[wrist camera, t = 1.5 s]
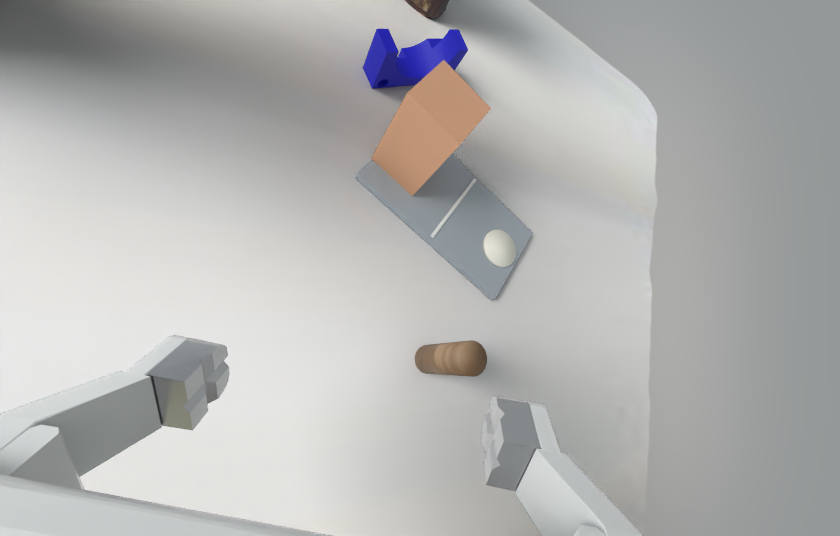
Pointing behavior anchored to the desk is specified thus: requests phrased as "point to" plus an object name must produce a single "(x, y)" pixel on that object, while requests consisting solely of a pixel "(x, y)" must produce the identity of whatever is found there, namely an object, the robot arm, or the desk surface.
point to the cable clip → (410, 58)
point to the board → (457, 221)
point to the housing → (429, 127)
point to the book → (429, 7)
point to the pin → (452, 358)
